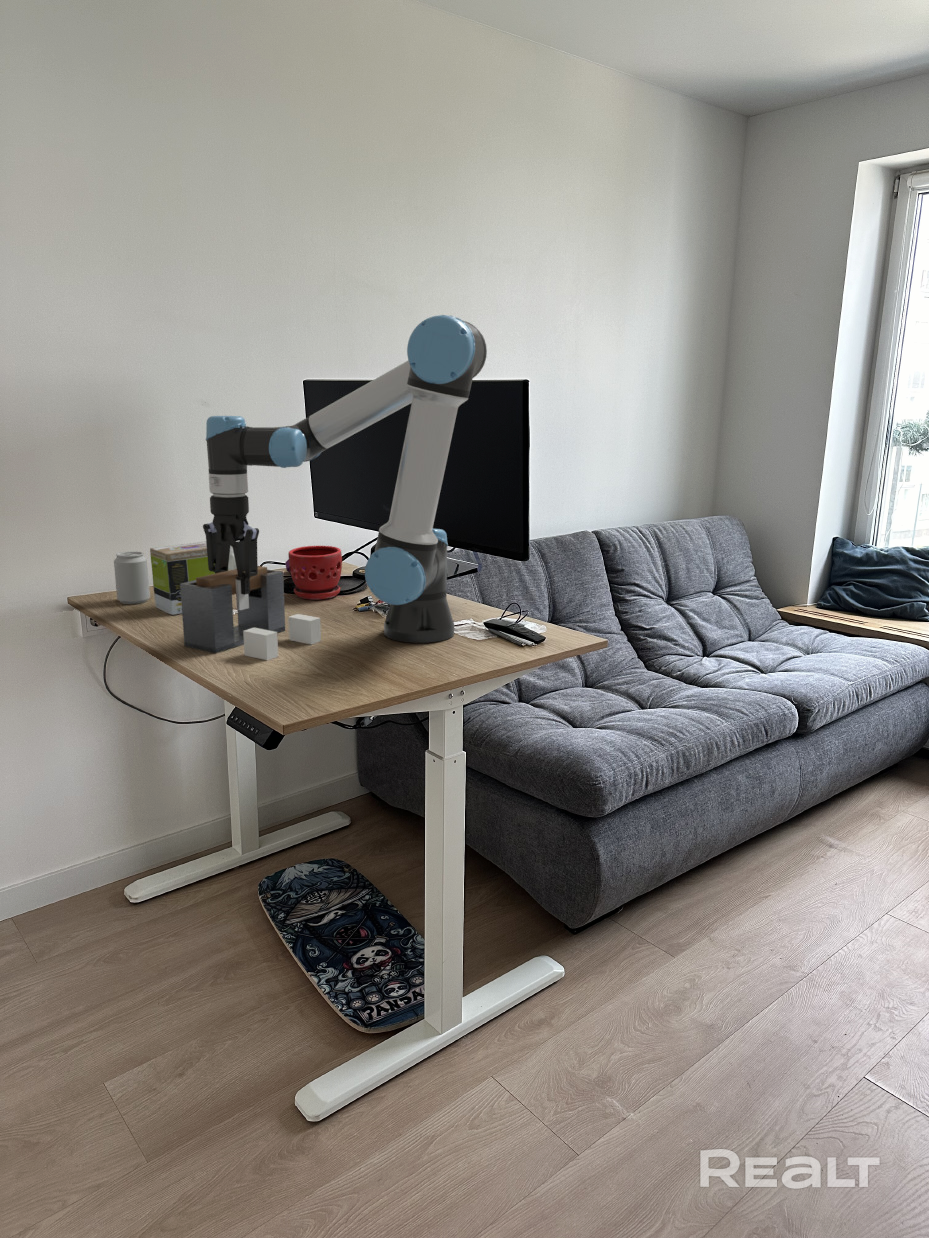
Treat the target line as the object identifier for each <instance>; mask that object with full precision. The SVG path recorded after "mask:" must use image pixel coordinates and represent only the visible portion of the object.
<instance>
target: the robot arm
mask: <svg viewBox="0 0 929 1238" xmlns="http://www.w3.org/2000/svg"><path fill="white" fill-rule="evenodd" d="M487 352H488V350H487V343H486V340H485V338H484V335H483V334H482V332H481V331H480V330H479V329H478V328H477V327H476V326H475V325H473V324H472V323H471V322H469V321H465V320H462V319H461V318H459V317H455V316H453V315H446V314H440V315H434V316H431V317H427V318H426V319H424V320H422V321H421V322H420V323H418V324H417V326H415V328H414V329H413V331H412V332H411V334H410V336H409V339H408V342H407V348H406V355H407V359H408V360H406V361H404V362H403V363H400V364H399V365H397V366H396V367H394V368H392V369H390V370H388V371H387V372H385V373H383V374H382V375H379V376H378V377H376V378H374V379H373V380H371V381H369V382H368V383H366V384H364V385H362V386H360V387H358V388H357V389H355V390H354V391H352V392H349V393H348V394H346V395H344V396H343V397H341V398H339V399H337V400H336V401H334V402H333V403H330V404H329V405H327V406H325V407H324V408H322V409H320V410H317V411H316V412H314V413H313V414H311V415H309V416H307V417H305V418H304V419H302V420H300V421H299V422H297V423H295V424H293V425H287V426H276V427H274V426H273V427H269V426H268V427H266V426H265V427H259V426H258V427H253V426H248V425H247V423H246V420H245V418H244V417H243V416H241V415H212V416H211V415H210V416H209V417H208V418H207V419H206V427H205V428H206V429H205V430H206V433H205V434H206V435H205V441H206V450H207V464H208V483H209V485H208V486H209V493H210V494H212V495H211V496H210V497H209V508H210V510H209V511H210V513H211V514H212V515H213V519H212V522H209V523H204V524H203V525H202V529H203V532H204V534H205V542H206V545H207V556H208V568H209V571H213V572H215V574H216V573H220V572H225V571H229V570H228V564H229V554H230V545H231V546H232V547H233V552H234V557H235V562H236V567H237V572H238V577H236V594H235V597H236V599H235V600H236V611H237V610H239V611H240V610H244V609H247V608H249V596H248V594H249V593H250V577H252V576H256V575H257V574H258V566H259V565H258V537H259V534H260V529H259V528H257V527H255V528H253V527H252V526H250V525H249V522H248V519H247V516H248V514H249V512H250V507H249V506H250V505H249V503H250V502H249V497H248V495H247V494H248V492H249V482H248V480H249V479H248V466H250V467H251V466H257V467H275V468H278V467H279V468H282V469H286V468H299V467H301V466H302V465H303V463H306V462H310V461H312V460H314V459H316V458H318V457H319V456H320V455H321V454H322V452H324V451H326V450H328V449H329V448H331V447H333V446H335V445H337V444H339V443H341V442H342V441H344V440H346V439H348V438H350V437H351V436H353V435H354V434H357V433H359V432H361V431H362V430H364V429H366V428H368V427H370V426H372V425H373V424H375V423H377V422H379V421H381V420H383V419H384V418H387V417H388V416H390V415H392V414H394V413H395V412H397V411H400V410H401V409H403V408H404V407H406V406H409V405H411V406H410V411H409V416H408V419H407V424H406V426H407V427H406V432H405V436H404V439H403V440H404V441H403V446H402V451H401V456H400V461H399V467H398V470H397V471H398V472H397V476H396V477H397V478H396V482H395V488H394V492H393V497H392V503H391V508H390V514H389V519H388V521H387V522H386V523H384V524H383V525H381V526H380V527H379V529H378V533H377V539H376V542H375V548H374V552H372V554H371V555H370V556H369V557H368V559H367V562H366V564H365V568H364V577H365V583H366V585H367V587H368V589H369V590H370V592H371V593H372V595H374V596H375V597H376V598H377V599H378V600H380V601H381V602H383V603H386V604H388V605H389V608H388V611H387V613H386V617H385V620H384V623H383V634H384V636H385V637H387V638H388V639H390V640H394V641H397V642H404V643H415V644H416V643H417V644H418V643H420V644H422V643H423V644H425V643H435V642H441V641H446V640H448V639H451V638H452V637H453V636H455V622H454V620H453V615H452V612H451V609H450V606H449V602H448V599H447V592H448V591H447V588H448V587H447V585H448V584H447V582H448V581H447V580H448V575H447V574H448V547H449V544H448V537H447V536H448V535H447V532H446V531H445V530H444V529H442V528H441V529H440V528H434V524H435V523H434V522H435V519H436V514H437V509H438V505H439V500H440V495H441V494H440V493H441V490H442V485H443V481H444V475H445V471H446V466H447V462H448V456H449V453H450V447H451V442H452V438H453V433H454V428H455V423H456V418H457V414H458V410H459V407H460V406H461V405H462V404H465V402H467V401H468V400H469V396H470V392H471V388H472V383H473V379H474V378H475V377H476V376H478V374H479V373H481V371H482V369H483V367H484V366H485V363H486V359H487V354H488V353H487ZM214 564H215V565H214ZM244 571H245V572H244Z"/></svg>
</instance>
